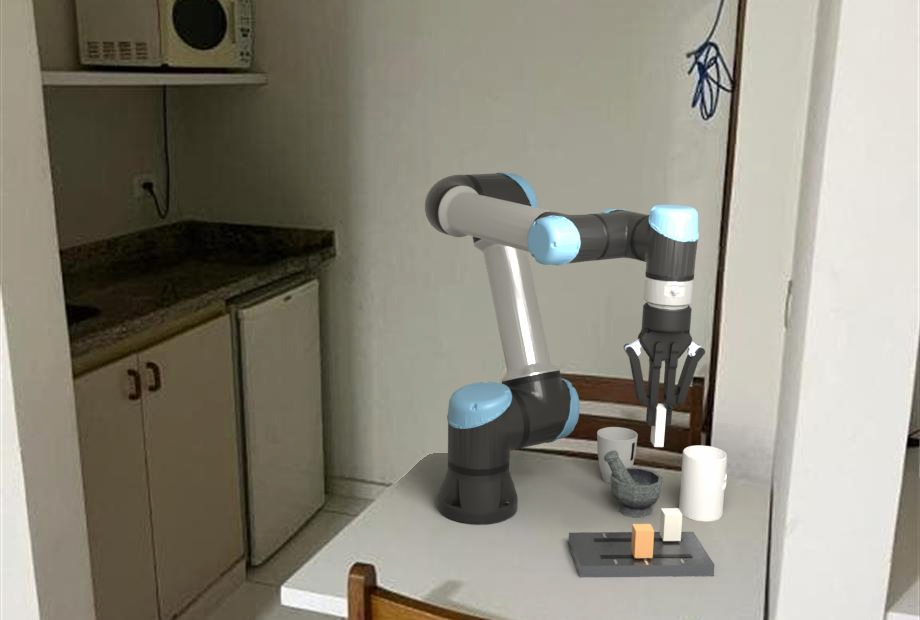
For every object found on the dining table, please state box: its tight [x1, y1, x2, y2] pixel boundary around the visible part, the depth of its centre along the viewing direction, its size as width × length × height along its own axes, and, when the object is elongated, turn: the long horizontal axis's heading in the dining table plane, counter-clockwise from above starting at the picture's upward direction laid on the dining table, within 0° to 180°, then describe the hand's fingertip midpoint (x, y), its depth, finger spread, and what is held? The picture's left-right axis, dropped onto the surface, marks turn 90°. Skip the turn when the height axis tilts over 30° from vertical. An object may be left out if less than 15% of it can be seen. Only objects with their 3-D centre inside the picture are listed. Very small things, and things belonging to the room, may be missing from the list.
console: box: [568, 531, 715, 578], centre depth 156 cm, size 22×12×2 cm, turn 92°
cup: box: [596, 426, 639, 485], centre depth 188 cm, size 8×8×10 cm
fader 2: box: [659, 507, 683, 541], centre depth 158 cm, size 3×3×5 cm
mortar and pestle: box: [604, 451, 663, 519], centre depth 173 cm, size 11×9×12 cm
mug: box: [678, 444, 728, 523], centre depth 175 cm, size 8×12×12 cm
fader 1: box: [631, 523, 655, 558], centre depth 152 cm, size 3×3×5 cm
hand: (656, 443), depth 151 cm, fingers closed
